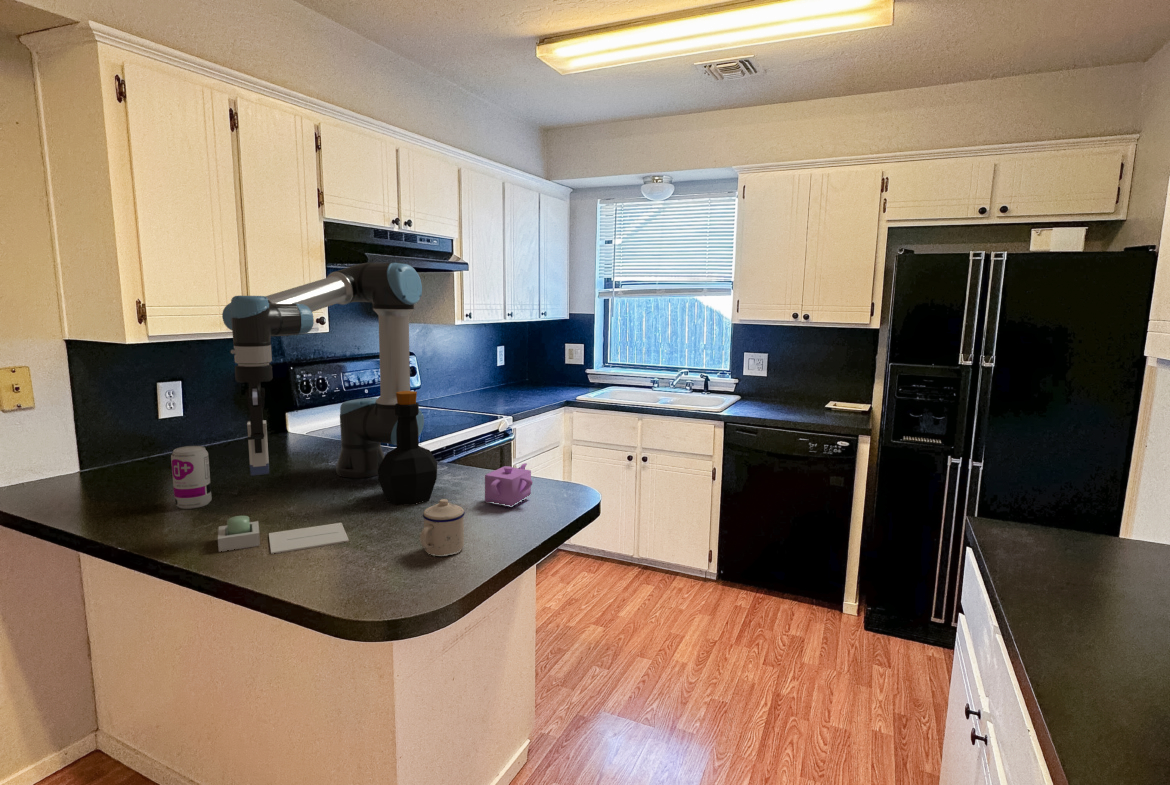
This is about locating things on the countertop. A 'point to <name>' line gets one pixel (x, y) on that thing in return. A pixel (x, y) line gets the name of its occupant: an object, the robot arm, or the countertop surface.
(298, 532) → the slotted base plate
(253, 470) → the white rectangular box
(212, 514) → the countertop surface
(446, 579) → the countertop surface
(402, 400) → the bottle
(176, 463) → the supplement can
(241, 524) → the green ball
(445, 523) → the teacup with lid
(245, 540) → the housing
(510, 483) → the teapot
